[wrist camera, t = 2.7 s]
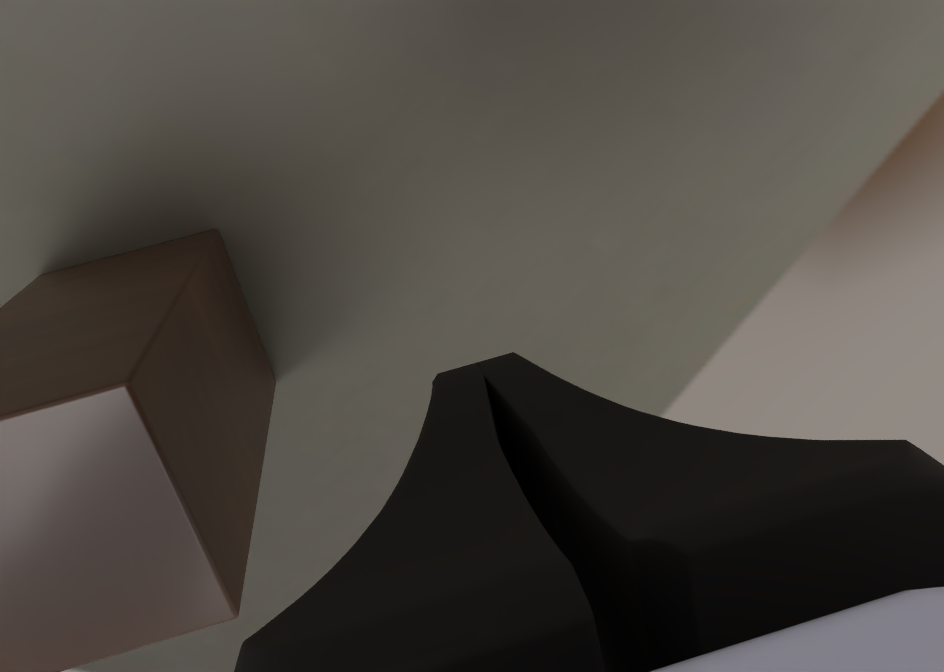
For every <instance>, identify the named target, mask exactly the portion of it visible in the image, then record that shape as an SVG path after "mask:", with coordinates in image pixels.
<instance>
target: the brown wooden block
mask: <svg viewBox="0 0 944 672" xmlns="http://www.w3.org/2000/svg"><path fill="white" fill-rule="evenodd" d="M275 386H276V382H275V379H274V376H273V374H272V371H271V368H270V366H269V363H268V361H267V358H266V355H265V353H264V350H263V347H262V345H261V342H260V339H259V337H258V334H257V331H256V329H255V326H254V324H253V321H252V318H251V316H250V313H249V310H248V308H247V305H246V302H245V300H244V297H243V294H242V292H241V289H240V287H239V284H238V281H237V279H236V276H235V273H234V271H233V268H232V265H231V263H230V260H229V257H228V255H227V252H226V250H225V247H224V244H223V242H222V239H221V236H220V234H219V231H218V230H216V229H214V230H210V231H206V232H202V233H198V234H195V235H191V236H187V237H183V238H180V239H176V240H172V241H168V242H165V243H161V244H157V245H153V246H150V247H146V248H142V249H138V250H134V251H131V252H127V253H123V254H119V255H116V256H112V257H108V258H104V259H101V260H97V261H93V262H89V263H86V264H82V265H78V266H74V267H71V268H67V269H63V270H59V271H55V272H52V273H48V274H44V275H40V276H38V277H37V278H36V279H35V280H34V281H32V282H31V283H30V284H29V285H27V286H26V287H25V288H24V289H23V290H21V291H20V292H19V293H18V294H17V295H15V296H14V297H13V298H12V299H11V300H9V301H8V302H7V303H6V304H5V305H3V306H2V307H1V308H0V672H61V671H64V670H67V669H71V668H74V667H77V666H81V665H84V664H87V663H90V662H94V661H97V660H100V659H104V658H107V657H110V656H114V655H117V654H120V653H124V652H127V651H130V650H133V649H137V648H140V647H143V646H147V645H150V644H153V643H157V642H160V641H163V640H166V639H170V638H173V637H176V636H180V635H183V634H186V633H190V632H193V631H196V630H200V629H203V628H206V627H209V626H213V625H216V624H219V623H223V622H226V621H229V620H233V619H235V618H237V617H238V615H239V609H240V602H241V596H242V590H243V584H244V578H245V572H246V565H247V559H248V553H249V547H250V541H251V534H252V528H253V522H254V516H255V510H256V503H257V497H258V491H259V485H260V479H261V472H262V466H263V460H264V454H265V448H266V441H267V435H268V429H269V423H270V417H271V410H272V404H273V398H274V392H275Z"/></svg>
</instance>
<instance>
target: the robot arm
mask: <svg viewBox="0 0 944 672" xmlns="http://www.w3.org/2000/svg"><path fill="white" fill-rule="evenodd" d="M432 384H433V388H432V395H431V400H430V404H429V408H428V412H427V415H426V418H425V421H424V424H423V427H422V430H421V433H420V436H419V439H418V441H417V444H416V446H415V448H414V450H413V453H412V455H411V457H410V459H409V462H408V464H407V466H406V468H405V470H404V472H403V474H402V476H401V478H400V480H399V482H398V484H397V486H396V487H395V489H394V491H393V493H392V494H391V496H390V497H389V499H388V501H387V502H386V504H385V505H384V507H383V509H382V510H381V512H380V513H379V514H378V515H377V517H376V518H375V519H374V520H373V522H372V523H371V524H370V525H369V527H368V528H367V529H366V531H365V532H364V533H363V534H362V536H361V537H360V538H359V539H358V541H357V542H356V543H355V544H354V545H353V547H352V548H351V549H350V550H349V551H348V552H347V553H346V554H345V555H344V556H343V557H342V558H341V559H340V560H339V561H338V562H337V563H336V565H335V566H334V567H333V568H332V569H331V570H329V571H328V572H327V573H326V574H325V575H324V576H323V577H322V578H321V579H320V580H319V581H318V582H317V583H316V584H315V585H314V586H313V587H312V588H310V589H309V590H308V591H307V592H306V593H305V594H304V595H302V596H301V597H300V598H299V599H298V600H296V601H295V602H294V603H293V604H291V605H290V606H289V607H288V608H286V609H285V610H284V611H283V612H281V613H280V614H279V615H278V616H276V617H275V618H274V619H273V620H271V621H270V622H269V623H267V624H266V625H265V626H264V627H262V628H261V629H260V630H259V631H257V632H256V633H255V634H253V635H252V636H250V637H249V638H248V639H246V640H245V641H244V642H243V644H242V646H241V649H240V653H239V656H238V660H237V663H236V667H235V670H234V672H944V465H942V464H941V463H939V462H938V461H937V460H935V459H934V458H932V457H931V456H929V455H928V454H927V453H925V452H924V451H922V450H921V449H919V448H918V447H916V446H915V445H913V444H912V443H910V442H908V441H907V440H807V439H792V438H779V437H766V436H757V435H748V434H740V433H733V432H728V431H722V430H715V429H710V428H704V427H699V426H693V425H689V424H685V423H680V422H676V421H672V420H669V419H665V418H661V417H658V416H654V415H651V414H647V413H643V412H640V411H637V410H634V409H631V408H628V407H625V406H623V405H620V404H617V403H615V402H612V401H610V400H607V399H605V398H602V397H600V396H597V395H595V394H593V393H590V392H588V391H586V390H584V389H581V388H579V387H577V386H575V385H573V384H571V383H569V382H567V381H565V380H563V379H561V378H559V377H557V376H555V375H553V374H551V373H550V372H548V371H546V370H544V369H542V368H540V367H539V366H537V365H535V364H533V363H532V362H530V361H528V360H526V359H525V358H523V357H521V356H519V355H518V354H516V353H514V352H512V353H509V354H505V355H502V356H498V357H495V358H491V359H488V360H484V361H481V362H477V363H474V364H470V365H467V366H463V367H460V368H456V369H453V370H449V371H446V372H442V373H438V374H437V376H436V377H435V379H434V380H433V382H432Z"/></svg>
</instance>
